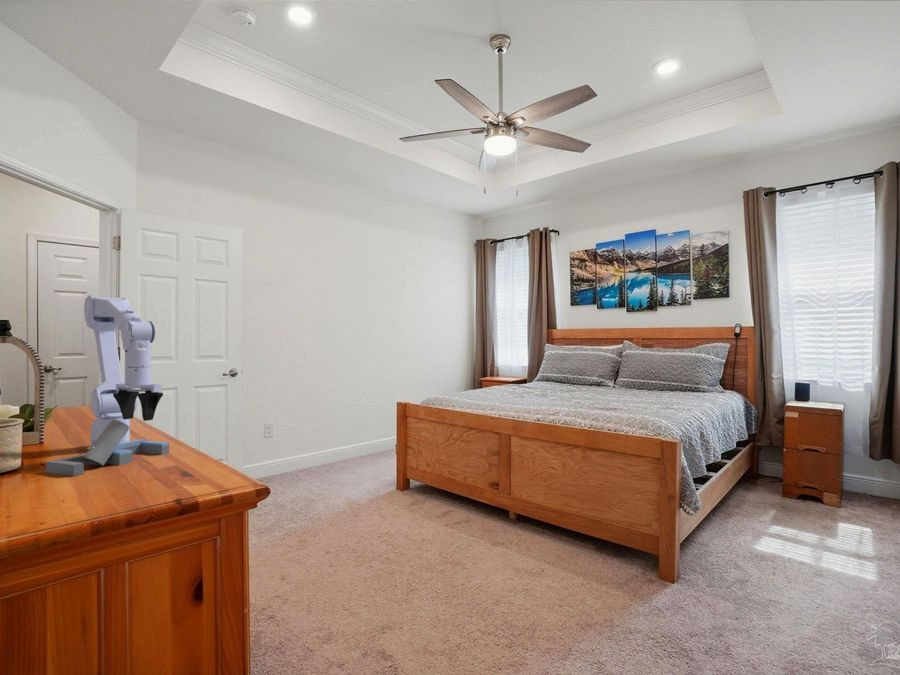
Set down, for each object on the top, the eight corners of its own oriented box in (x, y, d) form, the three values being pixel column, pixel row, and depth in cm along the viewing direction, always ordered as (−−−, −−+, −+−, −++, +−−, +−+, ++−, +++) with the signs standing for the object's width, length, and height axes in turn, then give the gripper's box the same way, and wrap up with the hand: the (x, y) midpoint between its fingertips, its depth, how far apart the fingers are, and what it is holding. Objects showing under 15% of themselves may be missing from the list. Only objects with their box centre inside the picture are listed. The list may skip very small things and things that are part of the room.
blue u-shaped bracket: (92, 452, 118) (92, 448, 118) (143, 442, 130) (143, 438, 130) (119, 455, 114) (119, 451, 114) (169, 444, 126) (169, 440, 126)
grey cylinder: (106, 468, 113) (133, 430, 119) (95, 460, 109) (123, 421, 116) (90, 464, 114) (117, 426, 120) (78, 456, 110) (107, 418, 116)
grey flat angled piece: (46, 472, 108) (46, 461, 108) (143, 451, 130) (143, 442, 130) (73, 476, 104) (73, 464, 105) (169, 454, 126) (169, 444, 126)
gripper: (103, 367, 121) (103, 420, 121) (142, 368, 116) (142, 423, 115) (130, 366, 128) (130, 416, 127) (168, 366, 122) (168, 418, 122)
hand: (138, 419), depth 122 cm, fingers open, 7 cm apart
